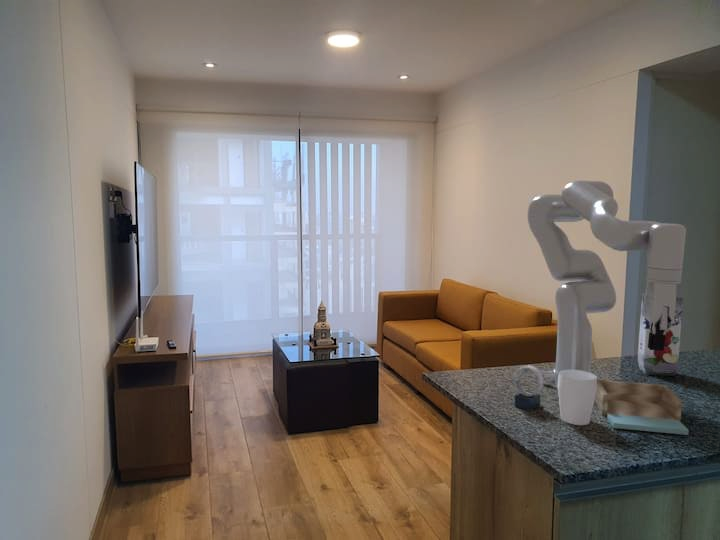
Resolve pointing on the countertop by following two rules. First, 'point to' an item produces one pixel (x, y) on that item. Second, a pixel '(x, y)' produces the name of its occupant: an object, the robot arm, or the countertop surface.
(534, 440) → the countertop surface
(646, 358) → the juice carton
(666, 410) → the crate
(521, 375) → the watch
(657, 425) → the panel
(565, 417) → the cup
